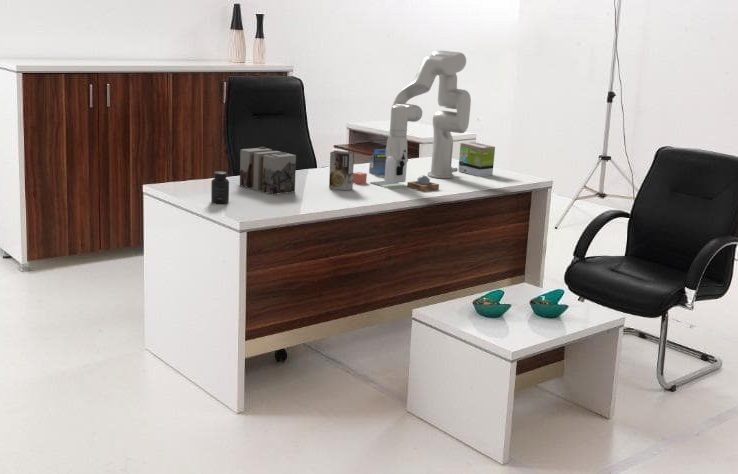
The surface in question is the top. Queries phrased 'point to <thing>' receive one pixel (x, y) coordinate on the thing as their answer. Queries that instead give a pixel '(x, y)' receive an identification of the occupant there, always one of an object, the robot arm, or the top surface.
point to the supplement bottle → (220, 188)
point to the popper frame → (423, 186)
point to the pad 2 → (394, 185)
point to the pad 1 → (381, 183)
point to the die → (359, 178)
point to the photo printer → (394, 171)
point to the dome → (423, 180)
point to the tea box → (476, 159)
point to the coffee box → (341, 170)
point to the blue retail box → (377, 162)
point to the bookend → (267, 170)
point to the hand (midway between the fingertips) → (395, 173)
